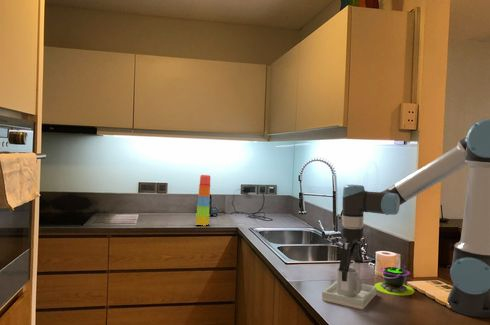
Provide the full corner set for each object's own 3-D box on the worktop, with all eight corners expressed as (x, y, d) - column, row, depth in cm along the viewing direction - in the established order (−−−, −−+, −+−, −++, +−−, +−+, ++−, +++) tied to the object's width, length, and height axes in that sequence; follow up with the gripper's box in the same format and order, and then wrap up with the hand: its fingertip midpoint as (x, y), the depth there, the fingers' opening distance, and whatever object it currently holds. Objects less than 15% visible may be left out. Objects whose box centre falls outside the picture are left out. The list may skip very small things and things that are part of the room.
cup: (345, 289, 156) (346, 266, 156) (367, 297, 148) (368, 273, 148) (332, 292, 152) (333, 268, 152) (353, 301, 144) (354, 276, 144)
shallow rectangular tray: (376, 294, 154) (376, 286, 154) (362, 309, 139) (363, 300, 139) (338, 286, 162) (338, 279, 162) (322, 300, 147) (322, 291, 147)
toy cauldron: (369, 282, 169) (370, 255, 169) (405, 283, 169) (406, 256, 169) (381, 295, 154) (382, 266, 154) (421, 296, 154) (422, 267, 154)
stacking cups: (195, 223, 286) (196, 174, 285) (210, 224, 287) (211, 174, 285) (194, 226, 276) (195, 175, 274) (209, 227, 276) (210, 175, 275)
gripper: (352, 221, 162) (351, 274, 163) (330, 231, 141) (328, 292, 142) (371, 223, 158) (370, 277, 159) (352, 233, 137) (350, 296, 138)
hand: (350, 284), depth 150 cm, fingers open, 13 cm apart
